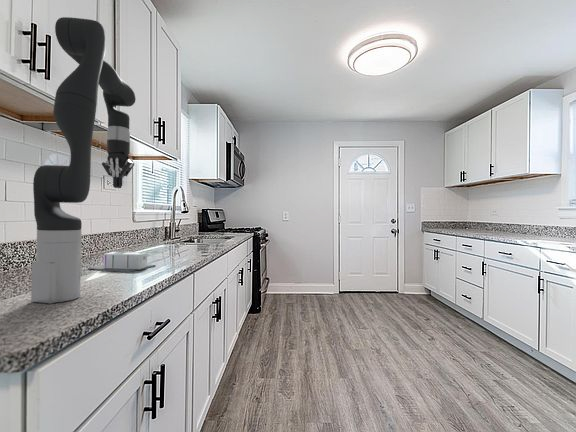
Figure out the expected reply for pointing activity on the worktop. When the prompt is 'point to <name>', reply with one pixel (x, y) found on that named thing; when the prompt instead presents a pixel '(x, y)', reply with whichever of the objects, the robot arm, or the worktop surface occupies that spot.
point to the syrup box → (125, 260)
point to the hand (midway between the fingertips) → (117, 187)
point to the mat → (118, 269)
